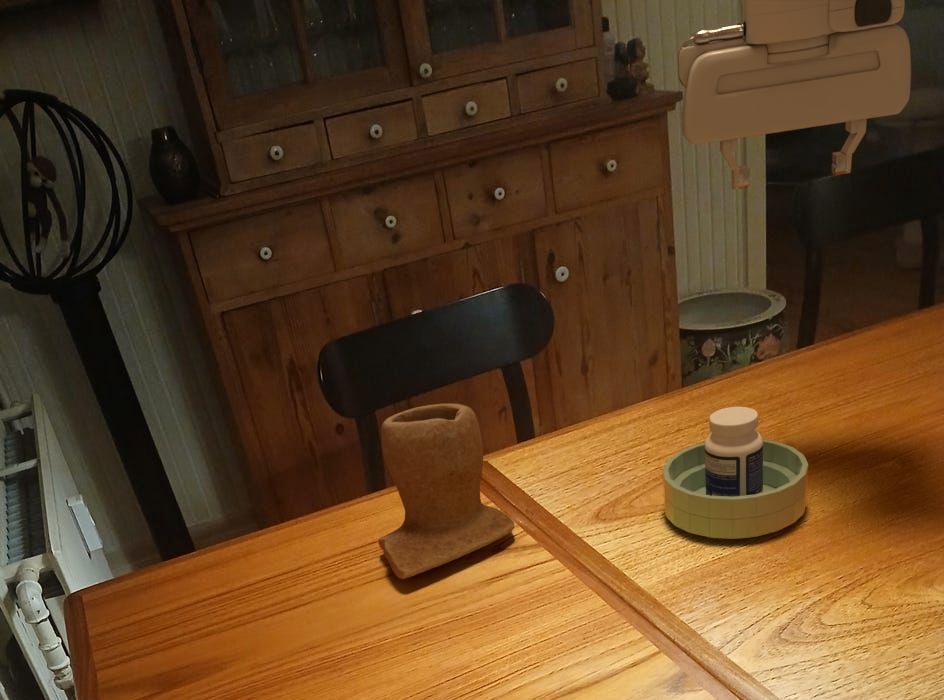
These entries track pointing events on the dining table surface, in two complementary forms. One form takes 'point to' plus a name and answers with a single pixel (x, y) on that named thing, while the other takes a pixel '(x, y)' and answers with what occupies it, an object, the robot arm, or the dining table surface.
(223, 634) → the dining table surface
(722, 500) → the bowl
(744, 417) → the pill bottle
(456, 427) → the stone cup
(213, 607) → the dining table surface
